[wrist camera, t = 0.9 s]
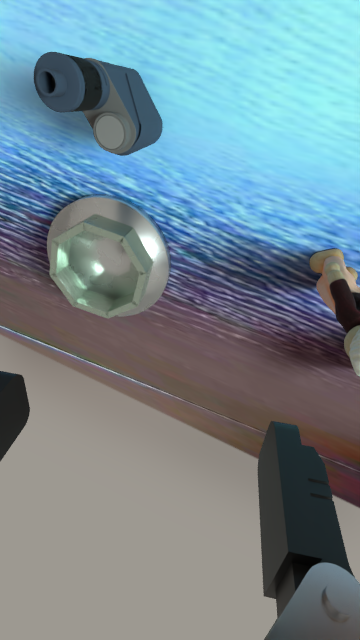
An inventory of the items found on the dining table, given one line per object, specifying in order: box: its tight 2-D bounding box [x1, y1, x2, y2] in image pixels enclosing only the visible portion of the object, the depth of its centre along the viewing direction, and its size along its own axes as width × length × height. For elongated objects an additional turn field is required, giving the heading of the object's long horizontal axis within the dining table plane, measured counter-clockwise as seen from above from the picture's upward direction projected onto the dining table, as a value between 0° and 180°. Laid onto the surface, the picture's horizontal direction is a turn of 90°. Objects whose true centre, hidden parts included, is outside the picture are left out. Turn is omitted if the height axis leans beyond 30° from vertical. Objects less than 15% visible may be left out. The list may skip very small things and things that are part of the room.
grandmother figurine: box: [309, 249, 360, 377], centre depth 24 cm, size 8×4×13 cm, turn 52°
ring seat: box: [47, 194, 171, 318], centre depth 31 cm, size 12×12×4 cm
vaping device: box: [34, 52, 162, 156], centre depth 21 cm, size 3×5×12 cm, turn 29°
